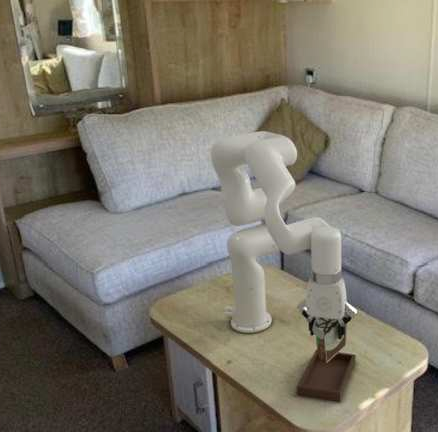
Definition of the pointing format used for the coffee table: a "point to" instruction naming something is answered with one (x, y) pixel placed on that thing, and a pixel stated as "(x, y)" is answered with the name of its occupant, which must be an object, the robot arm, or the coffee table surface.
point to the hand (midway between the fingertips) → (327, 334)
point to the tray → (327, 377)
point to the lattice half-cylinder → (328, 338)
